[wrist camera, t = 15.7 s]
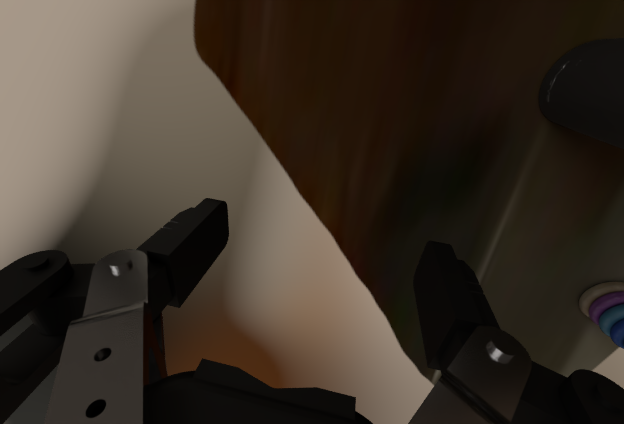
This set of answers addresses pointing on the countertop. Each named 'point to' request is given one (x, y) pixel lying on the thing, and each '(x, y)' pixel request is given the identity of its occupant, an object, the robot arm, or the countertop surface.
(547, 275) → the countertop surface
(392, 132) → the countertop surface
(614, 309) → the stacking toy
